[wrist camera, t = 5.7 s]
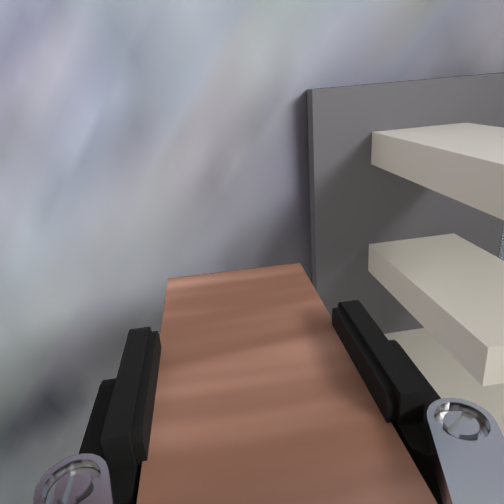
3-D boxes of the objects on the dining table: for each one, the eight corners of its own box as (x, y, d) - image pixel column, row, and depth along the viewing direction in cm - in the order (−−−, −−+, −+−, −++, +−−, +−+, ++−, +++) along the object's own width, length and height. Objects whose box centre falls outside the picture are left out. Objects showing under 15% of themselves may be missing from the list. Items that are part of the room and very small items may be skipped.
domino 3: (368, 244, 23) (488, 347, 14) (453, 233, 24) (622, 326, 15) (367, 270, 24) (482, 386, 15) (451, 259, 24) (611, 364, 15)
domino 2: (372, 132, 21) (516, 167, 12) (465, 122, 22) (674, 149, 12) (371, 164, 22) (508, 222, 12) (462, 154, 22) (659, 203, 13)
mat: (306, 89, 21) (312, 89, 20) (512, 71, 22) (527, 71, 21) (318, 511, 32) (322, 524, 31) (453, 485, 33) (461, 496, 32)
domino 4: (366, 336, 26) (468, 478, 16) (443, 324, 26) (584, 455, 17) (365, 358, 26) (463, 506, 17) (441, 346, 27) (576, 484, 17)
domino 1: (167, 278, 16) (128, 561, 6) (300, 262, 16) (438, 506, 7) (174, 315, 16) (145, 621, 7) (301, 299, 17) (430, 568, 8)
